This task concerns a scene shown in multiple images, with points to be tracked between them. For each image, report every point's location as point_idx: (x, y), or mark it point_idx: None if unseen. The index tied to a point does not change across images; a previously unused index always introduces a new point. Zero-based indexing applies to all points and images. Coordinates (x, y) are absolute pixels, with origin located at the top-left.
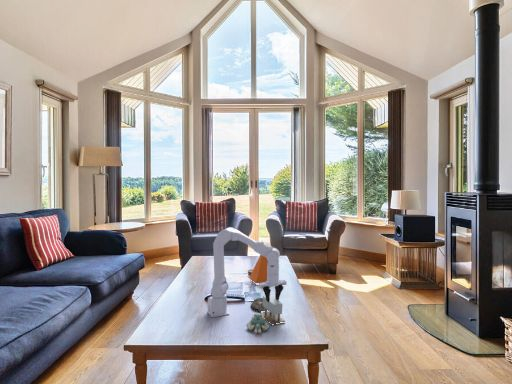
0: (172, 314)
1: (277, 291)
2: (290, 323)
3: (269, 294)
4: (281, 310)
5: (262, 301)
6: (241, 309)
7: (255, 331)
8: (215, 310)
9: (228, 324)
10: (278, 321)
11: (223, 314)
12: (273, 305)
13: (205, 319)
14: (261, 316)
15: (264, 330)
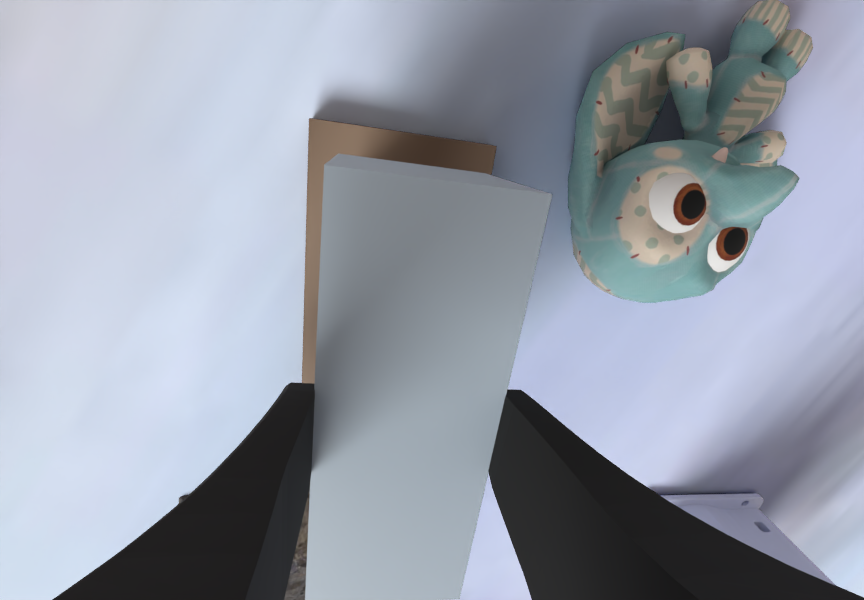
0: (861, 584)
1: (269, 595)
2: (244, 69)
3: (607, 498)
4: (351, 157)
5: (298, 594)
6: (504, 540)
7: (807, 40)
8: (761, 540)
9: (761, 359)
10: (393, 154)
11: (685, 500)
12: (535, 222)
13: (801, 482)
14: (692, 187)
15: (680, 38)
